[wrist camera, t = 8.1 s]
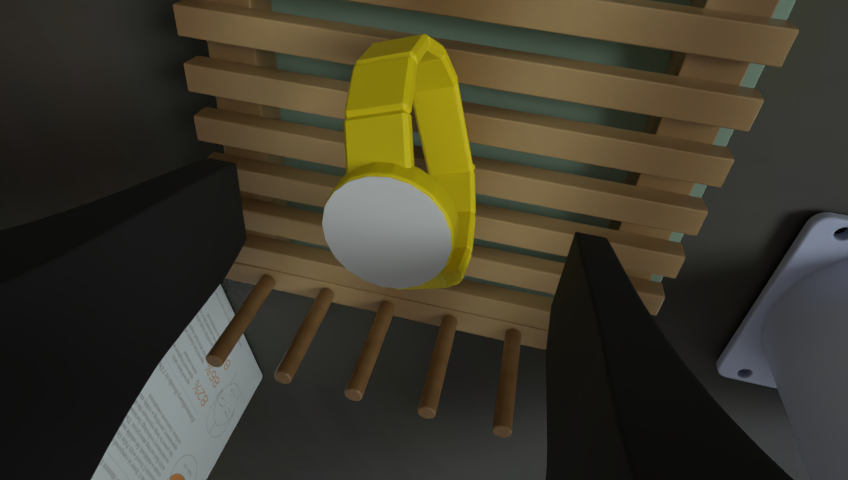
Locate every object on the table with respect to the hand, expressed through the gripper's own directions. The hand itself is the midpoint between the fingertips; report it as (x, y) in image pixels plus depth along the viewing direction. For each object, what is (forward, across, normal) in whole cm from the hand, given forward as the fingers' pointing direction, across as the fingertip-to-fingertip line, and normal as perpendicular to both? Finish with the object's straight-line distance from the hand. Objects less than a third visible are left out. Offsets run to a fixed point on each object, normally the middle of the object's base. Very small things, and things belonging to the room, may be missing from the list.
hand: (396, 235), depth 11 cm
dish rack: (+8, 0, +1) cm, 8 cm away
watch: (+6, 0, 0) cm, 6 cm away
